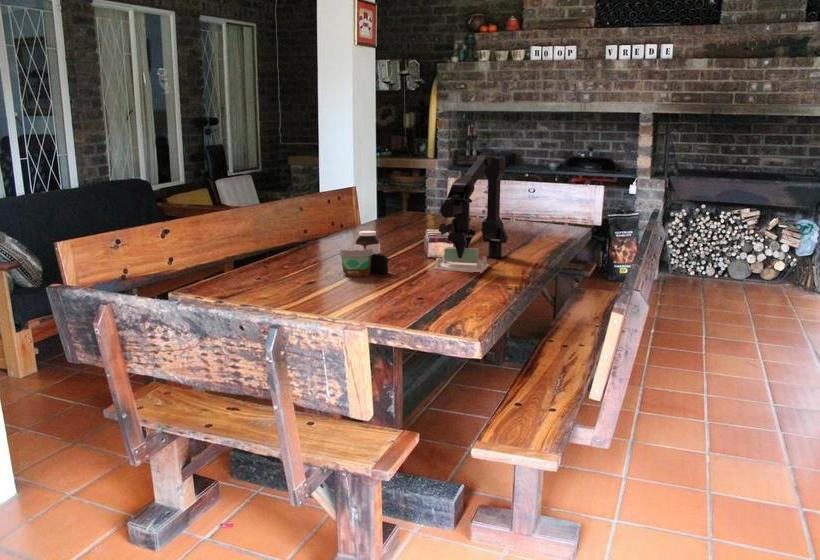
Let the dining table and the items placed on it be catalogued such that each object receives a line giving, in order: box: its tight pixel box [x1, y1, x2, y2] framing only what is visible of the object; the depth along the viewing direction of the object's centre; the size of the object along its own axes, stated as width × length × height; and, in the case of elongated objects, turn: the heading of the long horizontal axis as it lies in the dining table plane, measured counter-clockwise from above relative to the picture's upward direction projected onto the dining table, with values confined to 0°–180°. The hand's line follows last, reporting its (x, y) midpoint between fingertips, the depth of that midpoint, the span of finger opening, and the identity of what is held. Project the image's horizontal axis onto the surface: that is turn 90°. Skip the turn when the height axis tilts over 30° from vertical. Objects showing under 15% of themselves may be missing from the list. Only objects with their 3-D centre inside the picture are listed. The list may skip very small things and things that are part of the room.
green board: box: [443, 246, 480, 263], centre depth 275 cm, size 5×12×4 cm, turn 72°
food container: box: [338, 248, 373, 279], centre depth 260 cm, size 12×6×10 cm, turn 91°
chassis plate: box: [433, 254, 489, 274], centre depth 276 cm, size 12×18×4 cm, turn 72°
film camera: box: [363, 250, 390, 276], centre depth 269 cm, size 15×10×9 cm, turn 79°
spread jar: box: [349, 230, 381, 254], centre depth 296 cm, size 12×11×12 cm
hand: (461, 257), depth 275 cm, fingers closed on green board, 5 cm apart
